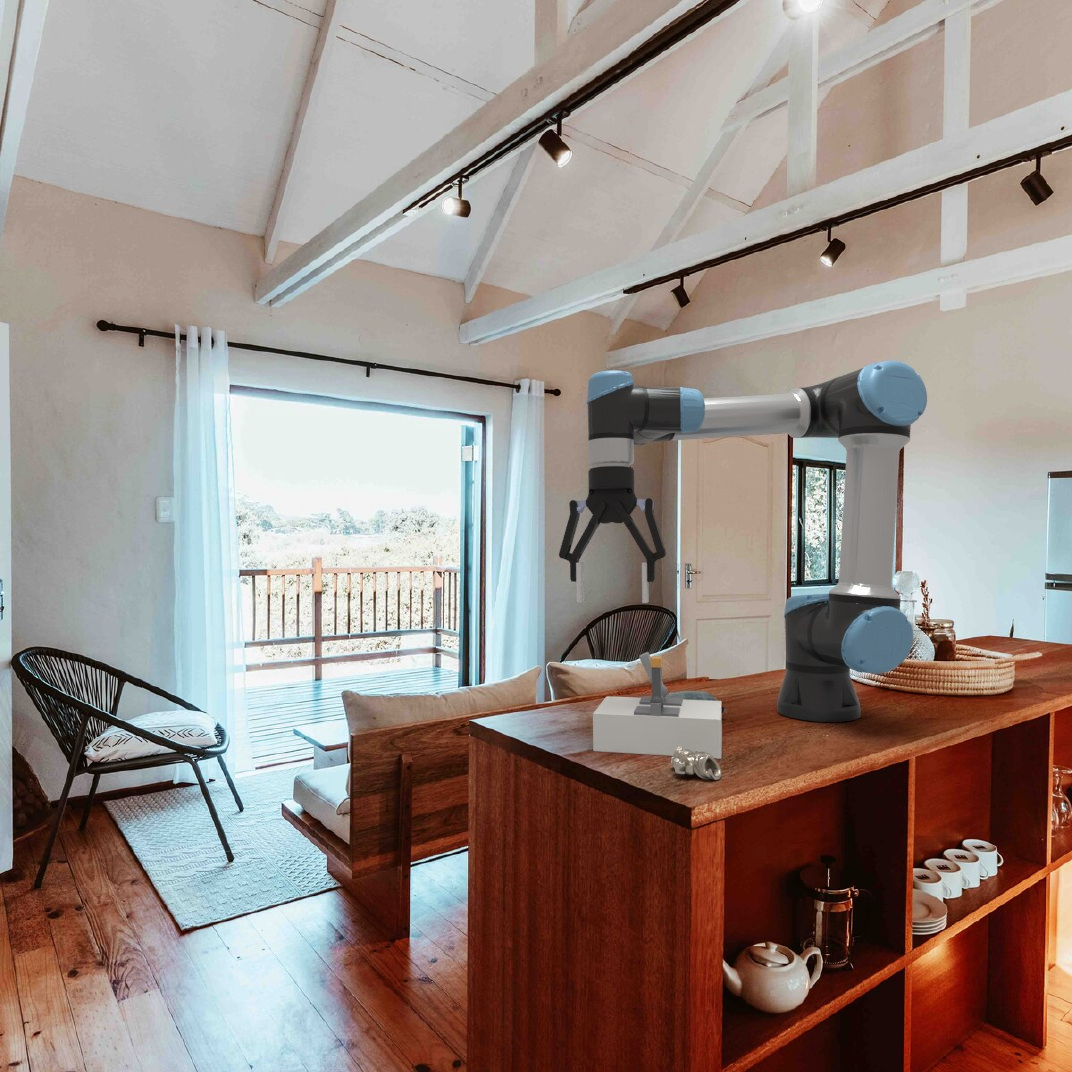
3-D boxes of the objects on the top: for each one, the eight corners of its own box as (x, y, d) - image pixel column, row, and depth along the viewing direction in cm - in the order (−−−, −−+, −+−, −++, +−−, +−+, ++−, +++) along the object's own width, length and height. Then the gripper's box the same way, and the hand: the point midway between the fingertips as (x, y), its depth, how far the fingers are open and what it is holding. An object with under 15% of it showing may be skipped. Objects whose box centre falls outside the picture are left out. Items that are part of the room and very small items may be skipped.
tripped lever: (664, 705, 121) (663, 656, 121) (662, 709, 119) (662, 658, 119) (651, 705, 122) (651, 655, 122) (650, 709, 119) (649, 658, 119)
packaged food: (657, 711, 148) (657, 687, 148) (716, 711, 148) (716, 686, 148) (665, 723, 139) (665, 696, 139) (728, 722, 139) (728, 696, 139)
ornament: (655, 773, 108) (655, 748, 108) (688, 765, 112) (688, 741, 112) (697, 788, 102) (697, 761, 102) (730, 778, 106) (730, 753, 106)
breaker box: (721, 735, 128) (720, 652, 129) (721, 758, 115) (720, 664, 115) (606, 729, 133) (605, 649, 133) (593, 751, 120) (592, 661, 120)
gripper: (682, 466, 123) (684, 600, 123) (549, 471, 129) (550, 599, 129) (679, 462, 116) (681, 604, 116) (538, 467, 122) (540, 603, 121)
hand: (612, 602), depth 122 cm, fingers open, 10 cm apart
